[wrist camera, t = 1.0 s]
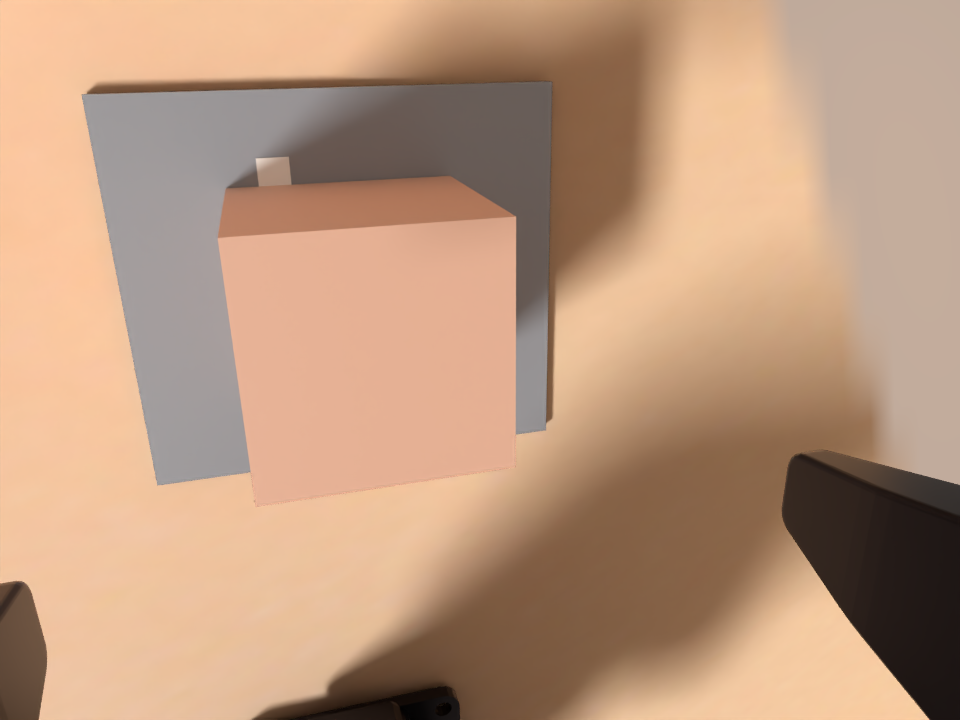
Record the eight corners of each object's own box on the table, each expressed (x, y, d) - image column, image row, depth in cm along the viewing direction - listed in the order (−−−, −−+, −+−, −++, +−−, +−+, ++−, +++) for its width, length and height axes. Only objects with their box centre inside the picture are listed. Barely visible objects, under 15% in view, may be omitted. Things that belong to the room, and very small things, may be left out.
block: (455, 374, 20) (515, 467, 16) (253, 398, 19) (255, 507, 14) (449, 175, 18) (515, 216, 14) (225, 188, 17) (217, 237, 12)
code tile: (542, 426, 22) (546, 430, 21) (159, 480, 19) (157, 485, 19) (548, 80, 18) (552, 81, 18) (83, 94, 16) (81, 94, 16)
